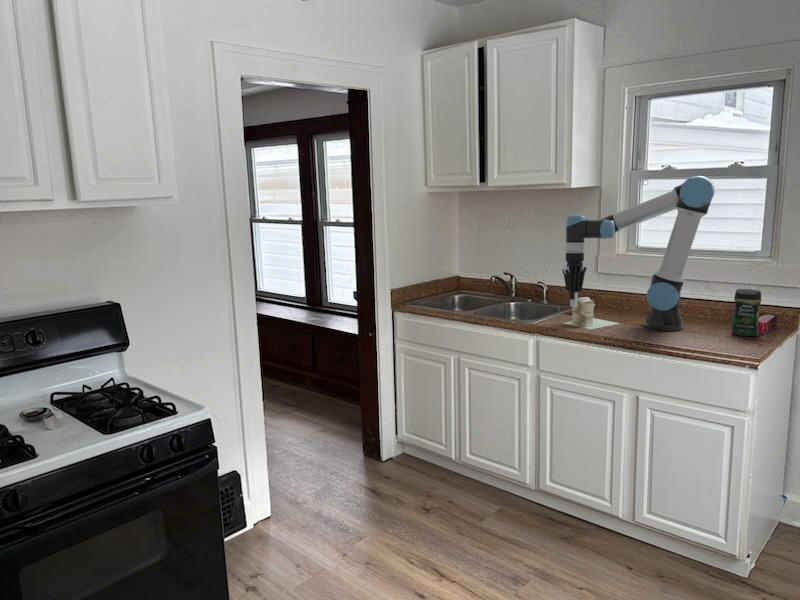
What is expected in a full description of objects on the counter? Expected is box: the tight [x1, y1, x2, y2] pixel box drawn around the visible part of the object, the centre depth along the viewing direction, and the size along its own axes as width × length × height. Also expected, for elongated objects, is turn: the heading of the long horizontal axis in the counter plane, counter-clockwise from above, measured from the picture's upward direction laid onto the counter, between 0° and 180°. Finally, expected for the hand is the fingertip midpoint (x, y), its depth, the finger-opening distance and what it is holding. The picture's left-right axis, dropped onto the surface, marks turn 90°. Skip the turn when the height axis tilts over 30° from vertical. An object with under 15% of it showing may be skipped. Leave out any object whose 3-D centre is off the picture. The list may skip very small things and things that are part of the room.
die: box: [578, 296, 596, 307], centre depth 310 cm, size 8×9×10 cm
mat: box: [562, 317, 620, 330], centre depth 290 cm, size 16×19×1 cm
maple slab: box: [571, 297, 595, 327], centre depth 286 cm, size 8×4×11 cm, turn 34°
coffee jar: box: [731, 288, 762, 337], centre depth 263 cm, size 10×8×19 cm
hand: (573, 306), depth 282 cm, fingers closed
